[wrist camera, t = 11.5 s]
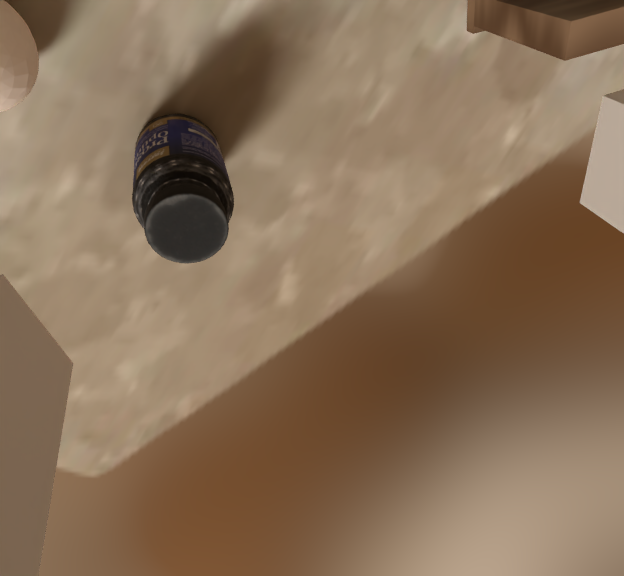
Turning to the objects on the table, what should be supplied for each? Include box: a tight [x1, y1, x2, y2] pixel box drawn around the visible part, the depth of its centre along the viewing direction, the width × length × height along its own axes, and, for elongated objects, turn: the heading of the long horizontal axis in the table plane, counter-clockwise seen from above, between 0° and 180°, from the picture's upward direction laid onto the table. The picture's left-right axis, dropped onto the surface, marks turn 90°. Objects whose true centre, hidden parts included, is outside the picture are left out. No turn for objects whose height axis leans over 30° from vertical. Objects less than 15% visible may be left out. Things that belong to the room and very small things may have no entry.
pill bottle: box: [132, 114, 234, 263], centre depth 32 cm, size 6×6×11 cm
